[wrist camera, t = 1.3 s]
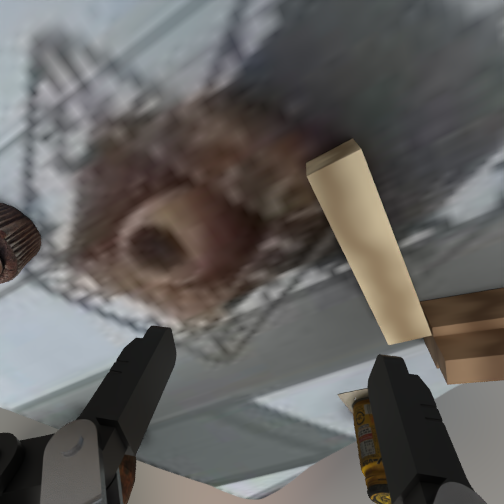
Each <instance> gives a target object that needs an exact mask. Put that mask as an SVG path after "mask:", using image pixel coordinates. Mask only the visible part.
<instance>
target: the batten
mask: <svg viewBox="0 0 504 504" xmlns="http://www.w3.org/2000/svg"><path fill="white" fill-rule="evenodd" d="M306 174H307V178H308V180H309V182H310V184H311V186H312V189H313V191H314V193H315V195H316V197H317V199H318V201H319V203H320V205H321V207H322V209H323V211H324V213H325V215H326V217H327V219H328V221H329V223H330V226H331V228H332V230H333V232H334V234H335V236H336V238H337V240H338V242H339V244H340V246H341V248H342V250H343V252H344V254H345V256H346V258H347V260H348V262H349V265H350V267H351V269H352V271H353V273H354V275H355V277H356V279H357V281H358V283H359V285H360V287H361V289H362V291H363V293H364V295H365V297H366V299H367V302H368V304H369V306H370V308H371V310H372V312H373V314H374V316H375V318H376V320H377V322H378V324H379V326H380V328H381V330H382V332H383V334H384V336H385V339H386V341H387V343H388V345H391V344H396V343H400V342H405V341H409V340H414V339H418V338H423V337H427V336H431V335H432V334H431V331H430V329H429V326H428V323H427V321H426V318H425V316H424V313H423V310H422V308H421V305H420V302H419V300H418V297H417V294H416V292H415V289H414V287H413V284H412V281H411V279H410V276H409V273H408V271H407V268H406V265H405V263H404V260H403V258H402V255H401V252H400V250H399V247H398V244H397V242H396V239H395V236H394V234H393V231H392V229H391V226H390V223H389V221H388V218H387V215H386V213H385V210H384V207H383V205H382V202H381V200H380V197H379V194H378V192H377V189H376V186H375V184H374V181H373V178H372V176H371V173H370V171H369V168H368V165H367V163H366V160H365V157H364V155H363V152H362V149H361V148H360V147H359V145H358V144H357V143H356V142H355V141H354V139H351V140H349V141H347V142H345V143H343V144H341V145H339V146H337V147H336V148H334V149H332V150H330V151H328V152H326V153H324V154H322V155H320V156H318V157H316V158H315V159H313V160H311V161H309V162H307V163H306Z"/></svg>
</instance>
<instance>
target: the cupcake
mask: <svg viewBox="0 0 504 504" xmlns="http://www.w3.org/2000/svg"><path fill="white" fill-rule="evenodd" d="M40 246H41V235H40V234H39V231H38V230H37V228H36V227H35V225H34V224H33V222H32V221H31V220H30V219H29V218H28V217H26V216H24V214H23V213H22V212H20V211H19V210H17V209H16V208H14V207H12V206H9V205H6V204H4V203H0V284H1V283H5V282H9V281H10V280H13V278H15V277H16V276H17V275H18V274H19V273H20V272H21V270H22V269H23V267H24V266H25V265H26V264H27V263H28V262H29V261H30V260H31V259H32V258H33V257H34V256H35V255H36V254H37V252H38V251H39V249H40Z"/></svg>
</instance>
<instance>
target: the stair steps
mask: <svg viewBox="0 0 504 504" xmlns="http://www.w3.org/2000/svg"><path fill="white" fill-rule="evenodd" d="M420 305H421V308H422V310H423V313H424V316H425V318H426V321H427V323H428V326H429V329H430V331H431V334H432V335H431V336H427V337H424V342H425V344H426V346H427V348H428V350H429V352H430V355H431V357H432V359H433V361H434V363H435V365H436V368H440V370H441V372H442V374H443V376H444V378H445V380H446V383H447V385H448V384H461V383H473V382H485V381H486V382H487V381H498V380H504V288H499V289H493V290H487V291H481V292H475V293H469V294H463V295H457V296H451V297H445V298H439V299H433V300H427V301H421V302H420Z"/></svg>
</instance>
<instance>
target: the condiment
mask: <svg viewBox="0 0 504 504" xmlns="http://www.w3.org/2000/svg"><path fill="white" fill-rule="evenodd" d="M338 396H339V397H340V399H341V400H342V401H343V402H344V404H345V405H346V406H347V407H348V408H349V410H350V411H351V412H352V413H353V417H354V426H355V434H356V439H357V444H358V451H359V459H360V465H361V470H362V473H363V474H364V476H365V477H366V478H365V481H366V485H367V489H368V490H367V493H368V496H369V498H370V499H371V500H372V501H373V502H375V503H377V504H392V503H391V498H390V493H389V489H388V484H387V479H386V475H385V470H384V465H383V461H382V456H381V452H380V447H379V442H378V438H377V433H376V428H375V424H374V419H373V414H372V410H371V405H370V400H369V395H368V389H362V390H358V391H357V390H355V391H353V392H348V393H344V394H339V395H338ZM355 398H356V400H355Z"/></svg>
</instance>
